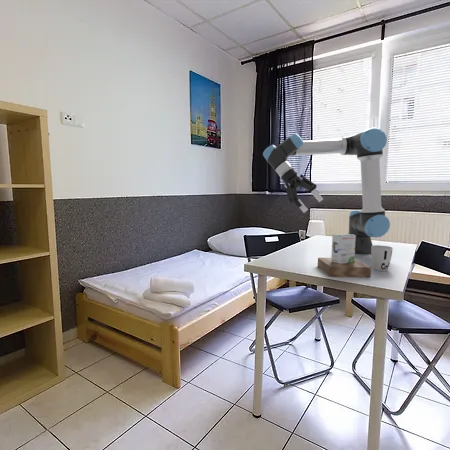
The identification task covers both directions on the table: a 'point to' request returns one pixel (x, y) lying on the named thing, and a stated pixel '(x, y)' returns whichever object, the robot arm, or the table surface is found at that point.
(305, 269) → the table surface
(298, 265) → the table surface
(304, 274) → the table surface
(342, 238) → the ink box
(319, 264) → the walnut stand
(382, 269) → the cup
